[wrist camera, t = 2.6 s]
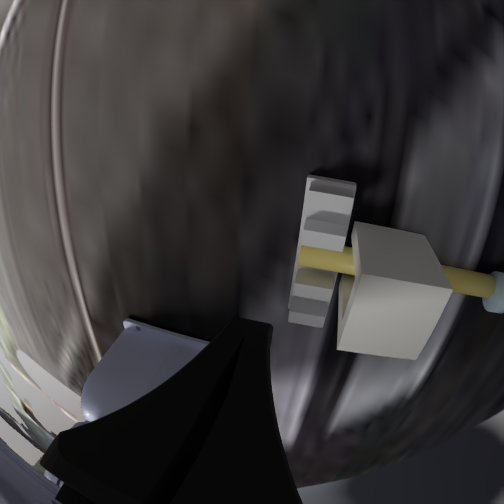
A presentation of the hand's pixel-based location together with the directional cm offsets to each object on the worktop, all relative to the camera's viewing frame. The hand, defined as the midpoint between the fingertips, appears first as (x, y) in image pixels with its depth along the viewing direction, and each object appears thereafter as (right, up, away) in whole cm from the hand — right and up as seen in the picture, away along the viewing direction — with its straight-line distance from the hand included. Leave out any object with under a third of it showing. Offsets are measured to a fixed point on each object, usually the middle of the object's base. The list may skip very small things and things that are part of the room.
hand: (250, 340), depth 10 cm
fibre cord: (+9, +2, +5) cm, 11 cm away
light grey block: (+7, +3, +6) cm, 9 cm away
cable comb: (+4, +3, +6) cm, 8 cm away
